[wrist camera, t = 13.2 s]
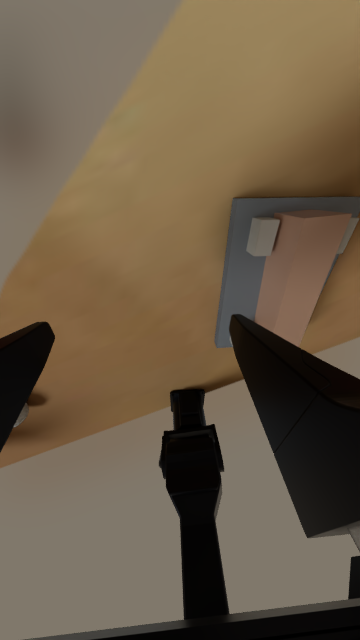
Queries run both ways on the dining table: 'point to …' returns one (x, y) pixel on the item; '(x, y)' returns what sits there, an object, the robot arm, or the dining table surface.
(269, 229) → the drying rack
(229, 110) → the dining table surface
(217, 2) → the dining table surface
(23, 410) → the ice cream cone
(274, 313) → the clay strip
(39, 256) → the dining table surface
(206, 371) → the dining table surface
